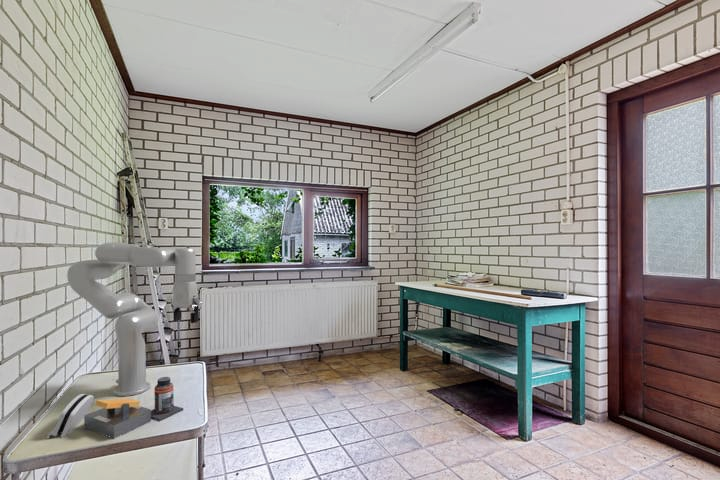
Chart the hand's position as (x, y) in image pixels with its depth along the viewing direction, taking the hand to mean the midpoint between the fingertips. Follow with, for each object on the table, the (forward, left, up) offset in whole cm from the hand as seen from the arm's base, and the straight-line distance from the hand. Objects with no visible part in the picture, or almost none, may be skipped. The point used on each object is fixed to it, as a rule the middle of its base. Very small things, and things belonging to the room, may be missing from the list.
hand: (185, 321), depth 149 cm
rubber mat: (+8, -16, -28) cm, 33 cm away
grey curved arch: (-12, -34, -29) cm, 46 cm away
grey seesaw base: (+2, -28, -28) cm, 40 cm away
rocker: (+2, -28, -21) cm, 35 cm away
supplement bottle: (+8, -16, -28) cm, 33 cm away
